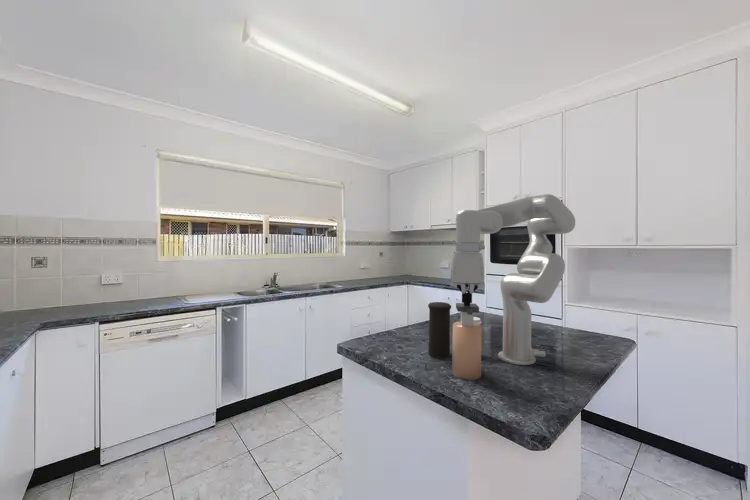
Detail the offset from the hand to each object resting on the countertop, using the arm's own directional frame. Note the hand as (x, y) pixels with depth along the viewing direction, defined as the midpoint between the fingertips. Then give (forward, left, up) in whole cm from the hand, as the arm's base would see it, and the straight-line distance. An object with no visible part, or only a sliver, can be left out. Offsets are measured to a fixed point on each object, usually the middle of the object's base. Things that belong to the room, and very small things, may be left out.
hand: (466, 305), depth 103 cm
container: (+8, -17, -23) cm, 30 cm away
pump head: (0, +2, -6) cm, 7 cm away
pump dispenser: (0, 0, -23) cm, 23 cm away
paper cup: (-4, -19, -23) cm, 30 cm away
